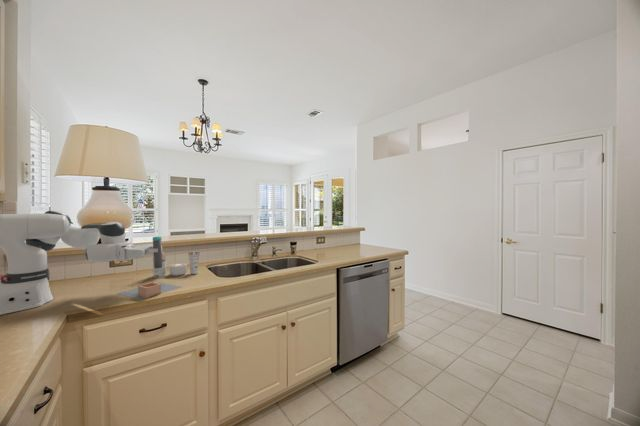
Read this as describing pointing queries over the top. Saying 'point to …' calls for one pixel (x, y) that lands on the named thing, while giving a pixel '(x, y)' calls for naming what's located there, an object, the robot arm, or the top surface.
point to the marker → (157, 254)
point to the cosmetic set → (178, 266)
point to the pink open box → (149, 289)
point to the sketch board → (164, 288)
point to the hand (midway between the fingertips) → (159, 249)
